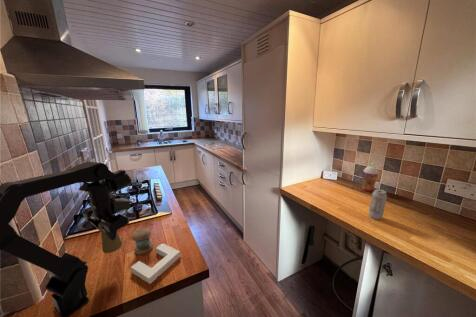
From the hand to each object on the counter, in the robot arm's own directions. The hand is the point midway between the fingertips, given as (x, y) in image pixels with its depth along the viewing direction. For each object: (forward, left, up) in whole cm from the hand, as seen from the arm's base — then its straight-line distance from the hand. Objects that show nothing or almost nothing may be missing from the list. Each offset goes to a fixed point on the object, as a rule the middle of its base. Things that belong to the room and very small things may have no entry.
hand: (110, 237), depth 69 cm
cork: (0, 0, -4) cm, 4 cm away
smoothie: (+121, -87, -13) cm, 150 cm away
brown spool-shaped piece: (+11, 0, -13) cm, 17 cm away
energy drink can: (+84, -88, -13) cm, 123 cm away
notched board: (+8, -12, -13) cm, 20 cm away
